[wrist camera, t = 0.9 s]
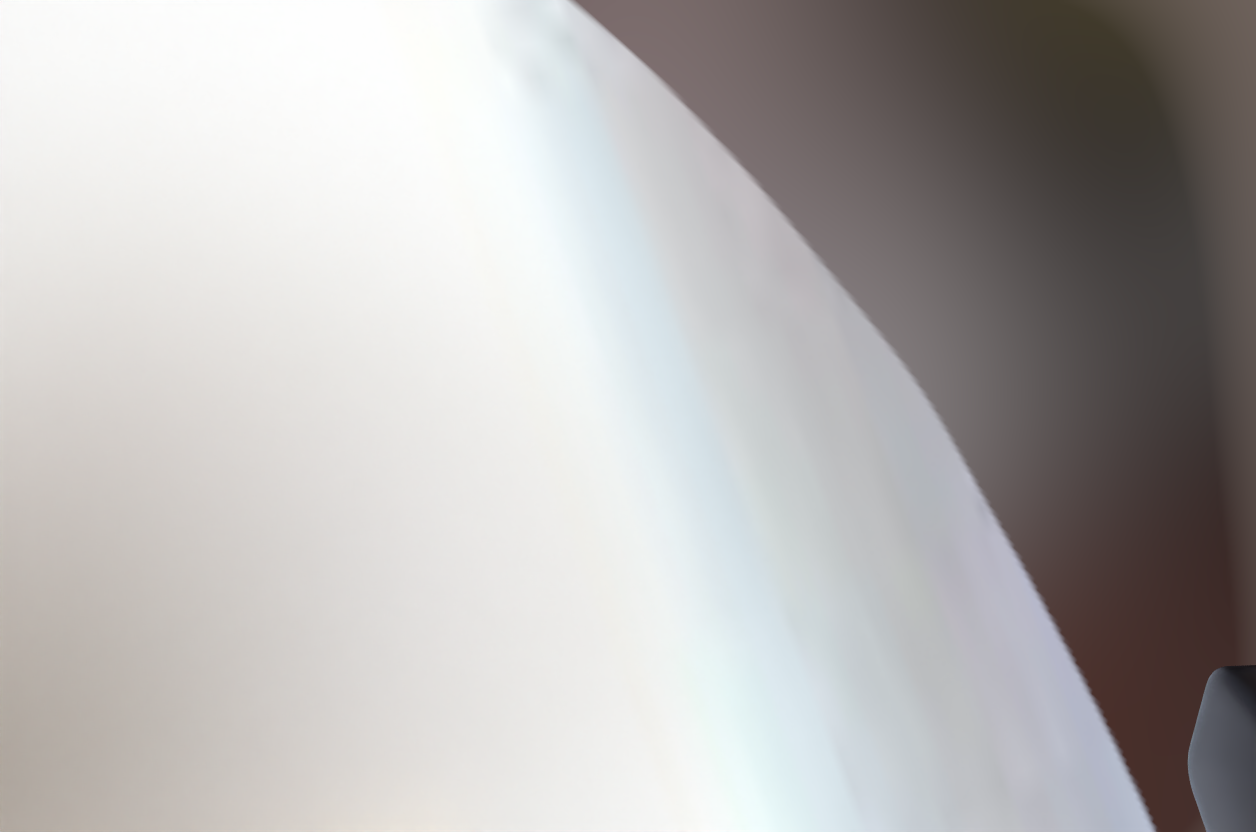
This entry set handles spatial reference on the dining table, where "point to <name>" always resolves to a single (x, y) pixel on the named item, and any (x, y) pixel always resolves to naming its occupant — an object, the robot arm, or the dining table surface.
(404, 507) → the dining table surface
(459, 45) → the dining table surface
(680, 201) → the dining table surface
